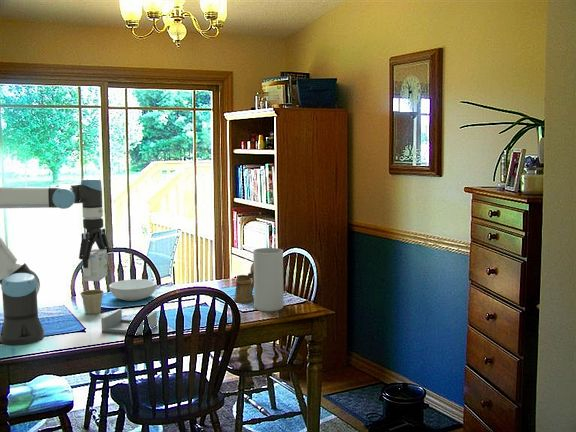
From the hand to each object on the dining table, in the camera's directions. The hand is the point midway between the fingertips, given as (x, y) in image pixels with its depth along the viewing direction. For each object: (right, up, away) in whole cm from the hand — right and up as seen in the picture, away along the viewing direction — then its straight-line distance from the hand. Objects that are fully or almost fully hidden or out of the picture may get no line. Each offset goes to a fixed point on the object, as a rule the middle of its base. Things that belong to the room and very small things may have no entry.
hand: (95, 272), depth 263 cm
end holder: (+15, -21, -8) cm, 27 cm away
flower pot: (-6, -18, +17) cm, 26 cm away
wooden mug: (+58, -15, +35) cm, 70 cm away
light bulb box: (0, -2, 0) cm, 2 cm away
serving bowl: (+6, -15, +39) cm, 43 cm away
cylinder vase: (+68, -17, +21) cm, 73 cm away
